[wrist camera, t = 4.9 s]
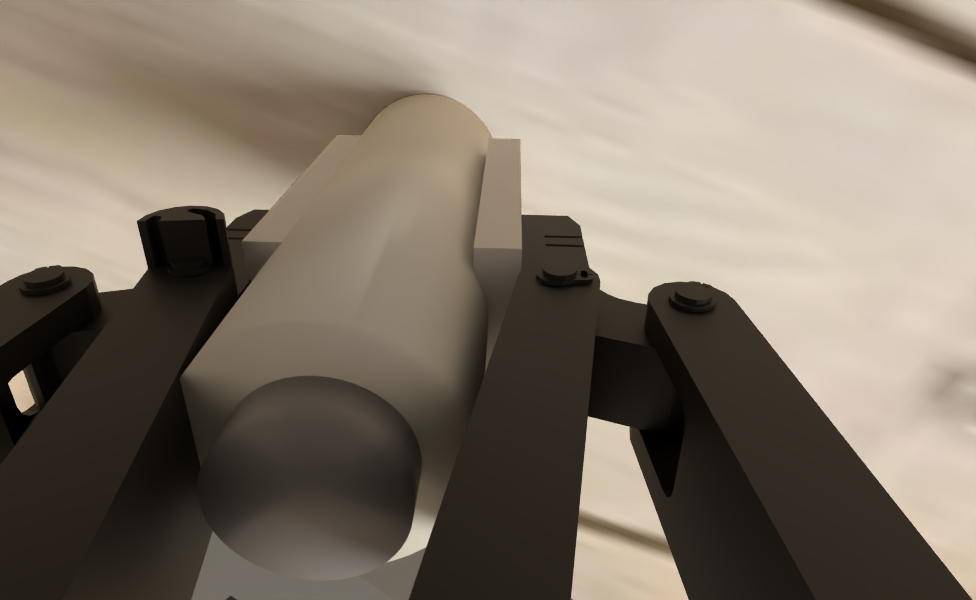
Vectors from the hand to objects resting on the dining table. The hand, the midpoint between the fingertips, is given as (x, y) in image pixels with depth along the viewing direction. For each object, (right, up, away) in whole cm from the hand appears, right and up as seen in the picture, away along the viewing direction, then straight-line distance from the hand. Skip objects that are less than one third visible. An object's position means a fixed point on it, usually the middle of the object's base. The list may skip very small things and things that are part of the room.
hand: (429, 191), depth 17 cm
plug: (0, +1, +2) cm, 2 cm away
